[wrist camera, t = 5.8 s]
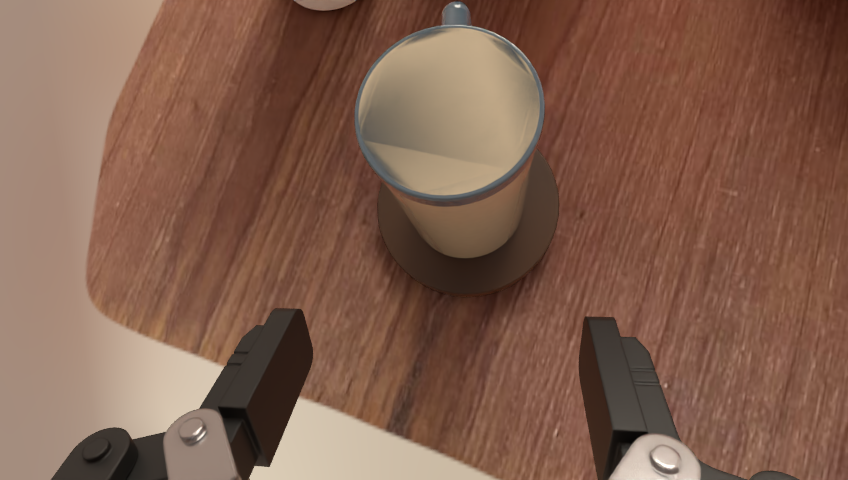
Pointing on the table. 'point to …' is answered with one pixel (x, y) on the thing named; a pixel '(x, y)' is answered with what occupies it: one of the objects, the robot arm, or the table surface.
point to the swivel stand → (485, 270)
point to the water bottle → (324, 4)
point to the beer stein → (453, 131)
